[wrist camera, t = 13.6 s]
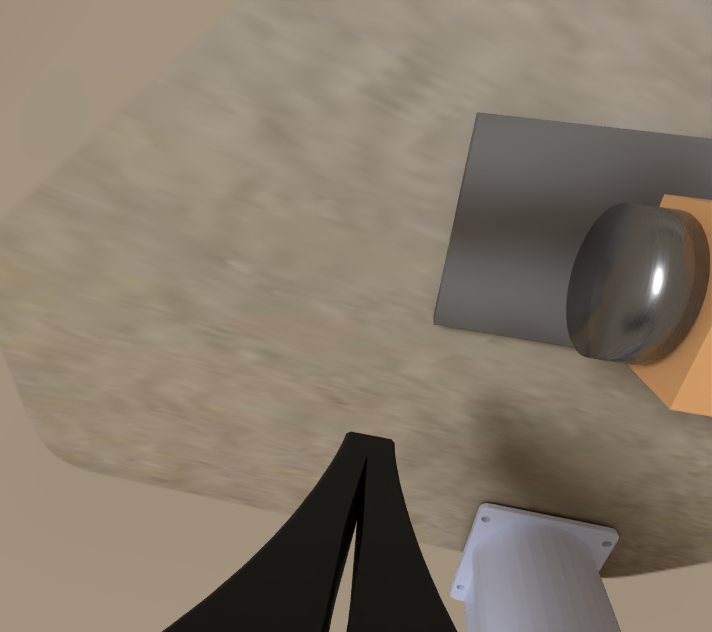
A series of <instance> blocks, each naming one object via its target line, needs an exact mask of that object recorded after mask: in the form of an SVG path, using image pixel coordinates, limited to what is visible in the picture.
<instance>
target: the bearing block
mask: <svg viewBox="0 0 712 632" xmlns="http://www.w3.org/2000/svg"><path fill="white" fill-rule="evenodd" d="M664 194H667V195H675V196H683V197H691V198H699V199H707V200H712V139H708V138H699V137H690V136H681V135H672V134H664V133H655V132H646V131H637V130H628V129H619V128H610V127H602V126H593V125H584V124H575V123H566V122H557V121H549V120H540V119H531V118H522V117H513V116H504V115H496V114H487V113H477V115H476V119H475V124H474V129H473V134H472V138H471V143H470V148H469V152H468V157H467V162H466V167H465V171H464V176H463V181H462V185H461V190H460V195H459V199H458V204H457V209H456V214H455V218H454V223H453V228H452V232H451V237H450V242H449V247H448V251H447V256H446V261H445V265H444V270H443V275H442V279H441V284H440V289H439V294H438V298H437V303H436V308H435V312H434V325H440V326H446V327H452V328H458V329H465V330H471V331H477V332H483V333H489V334H495V335H501V336H508V337H514V338H520V339H526V340H532V341H538V342H545V343H551V344H557V345H563V346H569V347H574V346H573V344H572V342H571V340H570V337H569V333H568V329H567V321H566V299H567V291H568V285H569V280H570V276H571V272H572V268H573V265H574V262H575V259H576V256H577V254H578V251H579V249H580V247H581V244H582V242H583V240H584V238H585V237H586V235H587V233H588V232H589V230H590V228H591V227H592V225H593V224H594V223H595V221H596V220H597V219H598V218H599V217H600V216H601V215H602V214H603V213H604V212H605V211H606V210H607V209H609V208H610V207H612V206H614V205H616V204H619V203H633V204H641V205H649V206H656V207H659V206H660V204H661V201H662V199H663V196H664Z"/></svg>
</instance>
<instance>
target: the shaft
mask: <svg viewBox="0 0 712 632" xmlns="http://www.w3.org/2000/svg"><path fill="white" fill-rule="evenodd" d="M709 275H710V250H709V244H708V240H707V237H706V233H705V231H704V229H703V227H702V225H701V224H700V222H699V221H698V220H697V219H696V218H695V217H694V216H693V215H692V214H690V213H688V212H686V211H683V210H679V209H672V208H664V207H656V206H649V205H641V204H633V203H619V204H616V205H614V206H612V207H610V208H609V209H607V210H606V211H605V212H604V213H603V214H602V215H601V216H600V217H599V218H598V219H597V220H596V221H595V223H594V224H593V225H592V227H591V228H590V230H589V232H588V233H587V235H586V237H585V238H584V240H583V242H582V244H581V247H580V249H579V251H578V254H577V256H576V259H575V262H574V265H573V268H572V272H571V276H570V280H569V285H568V291H567V299H566V321H567V329H568V333H569V337H570V340H571V342H572V344H573V346H574V348H575V349H576V350H577V352H579V353H580V354H581V355H583V356H585V357H588V358H594V359H600V360H606V361H612V362H618V363H624V364H630V365H636V366H647V365H651V364H654V363H657V362H659V361H661V360H662V359H664V358H666V357H667V356H668V355H669V354H671V353H672V352H673V351H674V350H675V349H676V348H677V347H678V346H679V345H680V344H681V343H682V341H683V340H684V339H685V337H686V336H687V335H688V333H689V332H690V330H691V328H692V327H693V325H694V323H695V321H696V319H697V317H698V315H699V313H700V310H701V307H702V305H703V302H704V299H705V295H706V291H707V287H708V282H709Z"/></svg>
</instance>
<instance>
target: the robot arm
mask: <svg viewBox="0 0 712 632" xmlns="http://www.w3.org/2000/svg"><path fill="white" fill-rule="evenodd" d="M356 522H357V527H356V540H355V552H354V564H353V578H352V590H351V602H350V610H349V620H348V625H347V632H457V630H456V628H455V626H454V624H453V622H452V620H451V618H450V616H449V614H448V612H447V610H446V608H445V606H444V604H443V602H442V600H441V598H440V596H439V593H438V591H437V589H436V587H435V584H434V582H433V580H432V578H431V575H430V573H429V570H428V568H427V566H426V563H425V561H424V558H423V556H422V553H421V550H420V548H419V545H418V542H417V539H416V536H415V533H414V530H413V527H412V524H411V521H410V518H409V515H408V511H407V508H406V504H405V500H404V497H403V493H402V489H401V485H400V481H399V476H398V470H397V465H396V458H395V443H394V442H393V441H392V439H387V438H382V437H376V436H371V435H366V434H361V433H355V432H349V433H347V434H346V436H345V438H344V441H343V443H342V445H341V447H340V449H339V450H338V452H337V454H336V456H335V457H334V459H333V461H332V462H331V464H330V465H329V467H328V468H327V470H326V471H325V473H324V474H323V476H322V477H321V479H320V480H319V482H318V483H317V484H316V486H315V487H314V489H313V490H312V491H311V492H310V494H309V495H308V496H307V498H306V499H305V500H304V501H303V503H302V504H301V505H300V506H299V508H298V509H297V510H296V511H295V513H294V514H293V515H292V516H291V517H290V518H289V520H288V521H287V522H286V523H285V524H284V525H283V526H282V527H281V529H280V530H279V531H278V532H277V533H276V534H275V535H274V536H273V537H272V538H271V539H270V540H269V541H268V542H267V543H266V544H265V545H264V546H263V547H262V548H261V549H260V550H259V551H258V552H257V553H256V554H255V555H254V556H253V557H252V558H251V559H250V560H249V561H248V562H247V563H246V564H245V565H244V566H243V567H242V568H241V569H239V570H238V571H237V572H236V573H235V574H234V575H232V576H231V577H230V578H229V579H228V580H227V581H225V582H224V583H223V584H222V585H221V586H220V587H218V588H217V589H216V590H215V591H214V592H213V593H212V594H210V595H209V596H208V597H207V598H205V599H204V600H203V601H202V602H200V603H199V604H198V605H197V606H195V607H194V608H193V609H192V610H190V611H189V612H187V613H186V614H185V615H183V616H182V617H181V618H179V619H178V620H177V621H175V622H174V623H173V624H172V625H170V626H169V627H168V628H166V629H165V630H164V631H162V632H329V630H330V624H331V618H332V614H333V610H334V605H335V601H336V597H337V593H338V589H339V586H340V582H341V578H342V574H343V571H344V567H345V563H346V559H347V556H348V552H349V548H350V544H351V541H352V537H353V533H354V529H355V526H356ZM618 540H619V536H618V533H617V531H616V530H615V529H613V528H610V527H605V526H600V525H595V524H590V523H585V522H580V521H575V520H570V519H565V518H560V517H555V516H550V515H545V514H540V513H535V512H530V511H525V510H520V509H515V508H510V507H505V506H500V505H495V504H490V503H484V504H482V505H480V506H479V508H478V511H477V514H476V517H475V520H474V523H473V525H472V528H471V531H470V534H469V537H468V540H467V542H466V545H465V548H464V551H463V554H462V557H461V560H460V562H459V565H458V568H457V571H456V574H455V576H454V579H453V582H452V585H451V588H450V596H451V597H452V598H454V599H456V600H460V601H464V602H465V615H466V629H467V632H621V630H620V628H619V625H618V622H617V620H616V617H615V614H614V612H613V609H612V606H611V604H610V601H609V599H608V596H607V593H606V590H605V588H604V585H603V582H602V580H601V577H600V574H599V571H600V569H601V568H602V566H603V564H604V563H605V561H606V559H607V558H608V556H609V555H610V553H611V551H612V550H613V548H614V546H615V545H616V543H617V542H618Z"/></svg>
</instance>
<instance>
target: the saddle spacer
mask: <svg viewBox="0 0 712 632" xmlns="http://www.w3.org/2000/svg"><path fill="white" fill-rule="evenodd" d="M659 207H664V208H672V209H679V210H683V211H686V212H688V213H690V214H692V215H693V216H694V217H695V218H696V219H697V220H698V221H699V222H700V224H701V225H702V227H703V229H704V231H705V233H706V237H707V240H708V244H709V250H710V275H709V282H708V287H707V291H706V295H705V299H704V302H703V305H702V307H701V310H700V313H699V315H698V317H697V319H696V321H695V323H694V325H693V327H692V328H691V330H690V332H689V333H688V335H687V336H686V337H685V339H684V340H683V341H682V343H681V344H680V345H679V346H678V347H677V348H676V349H675V350H674V351H673V352H672V353H671V354H669V355H668V356H667V357H666V358H664V359H662V360H661V361H659V362H657V363H654V364H651V365H647V366H636V365H630V364H627V365H628V366H629V367H630V368H631V369H632V370H633V371H634V372H635V373H636V374H637V375H638V376H639V377H640V378H641V380H642V381H643V382H644V383H645V384H646V385H647V386H648V387H649V388H650V389H651V390H652V391H653V392H654V393H655V394H656V395H657V396H658V397H659V398H660V399H661V401H662V402H663V403H664V404H665V405H666V406H667V407H668V408H669V409H671V410H677V411H682V412H688V413H694V414H700V415H706V416H711V417H712V200H707V199H699V198H691V197H683V196H675V195H667V194H664V196H663V199H662V201H661V204H660V206H659Z"/></svg>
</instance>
